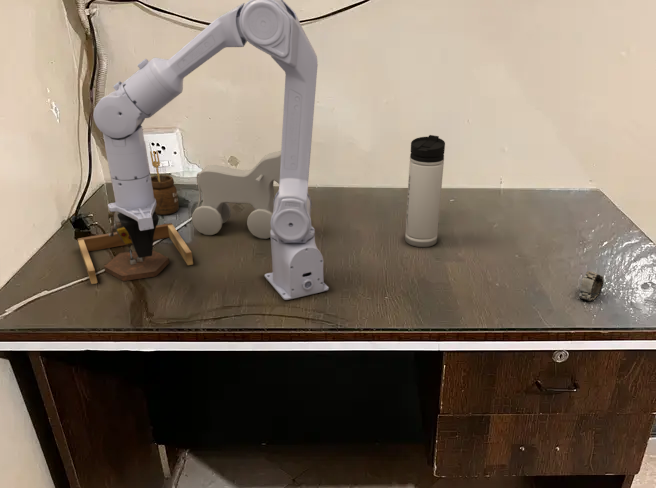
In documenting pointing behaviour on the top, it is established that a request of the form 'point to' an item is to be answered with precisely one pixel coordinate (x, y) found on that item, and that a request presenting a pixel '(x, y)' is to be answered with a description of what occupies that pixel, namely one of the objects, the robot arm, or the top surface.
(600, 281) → the wristwatch
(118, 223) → the robot figurine
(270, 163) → the pony
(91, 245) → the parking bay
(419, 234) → the travel mug
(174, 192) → the utensil holder
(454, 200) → the top surface
